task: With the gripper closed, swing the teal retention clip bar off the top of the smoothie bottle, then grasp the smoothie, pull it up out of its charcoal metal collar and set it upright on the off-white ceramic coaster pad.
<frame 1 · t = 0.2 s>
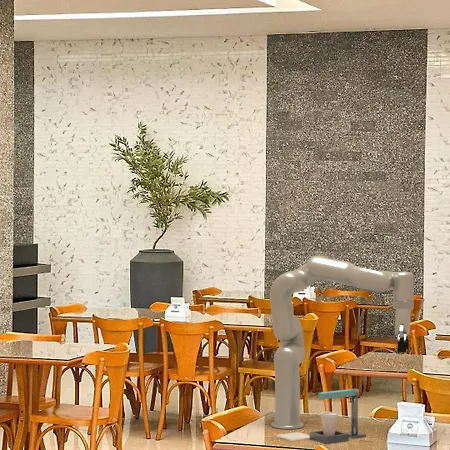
hand: (403, 350, 375), 31 cm above the table, tool pointing down, fingers open, 9 cm apart
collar: (329, 439, 364), on the table
smoothie: (329, 440, 364), resting in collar
clip post: (354, 436, 370), on the table
coaster pad: (294, 437, 368), on the table
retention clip: (339, 393, 366), point 16 cm above the table, hinge at 0.0°
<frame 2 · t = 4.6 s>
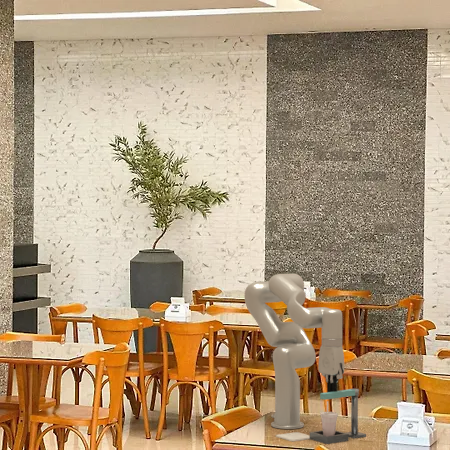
hand: (332, 393, 367), 16 cm above the table, tool pointing down, fingers closed
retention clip: (340, 394, 366), point 16 cm above the table, hinge at 4.3°, touching gripper
everything else where it was.
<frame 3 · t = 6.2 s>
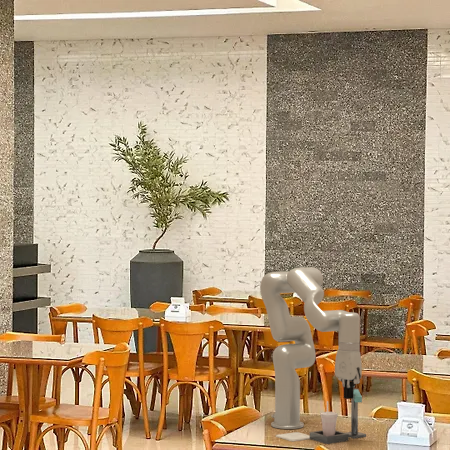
hand: (348, 398, 359), 16 cm above the table, tool pointing down, fingers closed
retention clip: (356, 395, 363), point 16 cm above the table, hinge at 54.6°, touching gripper
everything else where it was.
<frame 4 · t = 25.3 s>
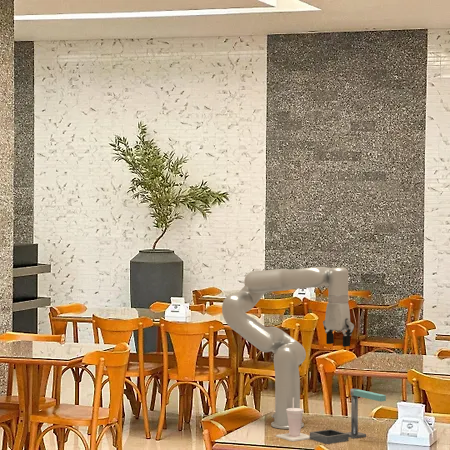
hand: (338, 345, 381), 32 cm above the table, tool pointing down, fingers open, 9 cm apart
smoothie: (294, 436, 368), resting on coaster pad
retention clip: (367, 394, 364), point 16 cm above the table, hinge at 88.9°
at the end: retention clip at +89° (first picture: +0°); smoothie 0.0 cm off-centre on the coaster pad, point 0.4 cm above the coaster pad's base; smoothie tilted 0° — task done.
